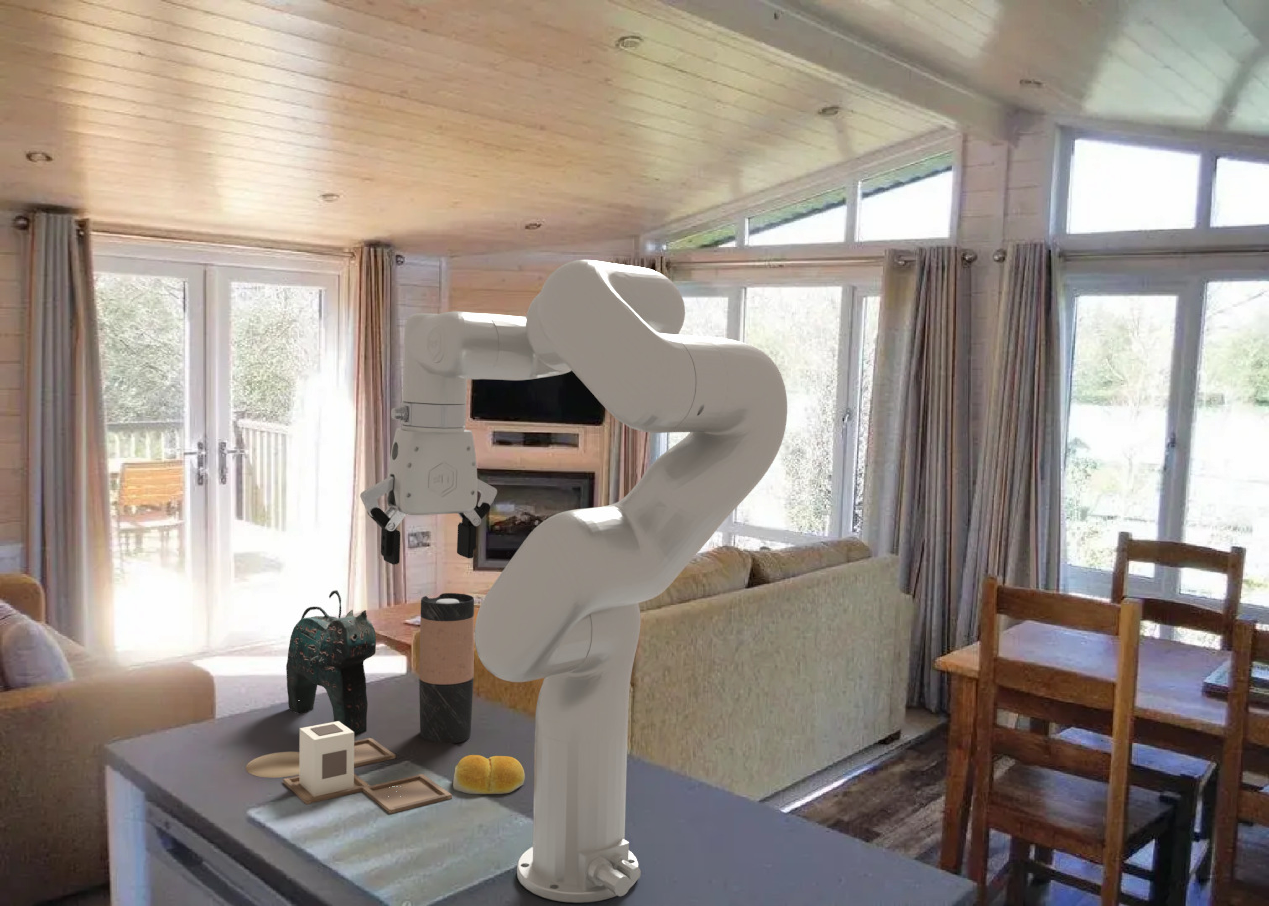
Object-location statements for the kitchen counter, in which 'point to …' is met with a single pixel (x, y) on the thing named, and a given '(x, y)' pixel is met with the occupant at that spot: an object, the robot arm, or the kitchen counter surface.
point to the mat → (275, 765)
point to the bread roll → (488, 775)
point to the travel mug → (446, 667)
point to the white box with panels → (326, 758)
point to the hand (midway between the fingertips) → (429, 559)
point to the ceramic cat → (331, 664)
